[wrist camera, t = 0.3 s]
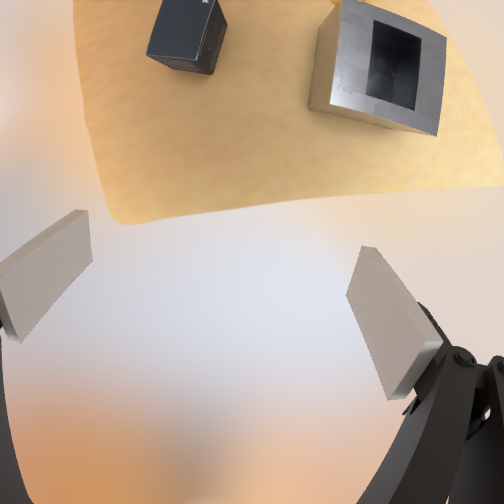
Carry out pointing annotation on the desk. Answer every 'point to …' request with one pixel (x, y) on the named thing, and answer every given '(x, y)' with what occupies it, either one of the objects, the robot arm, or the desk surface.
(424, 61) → the gray slotted cube
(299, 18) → the desk surface
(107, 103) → the desk surface
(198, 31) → the box
